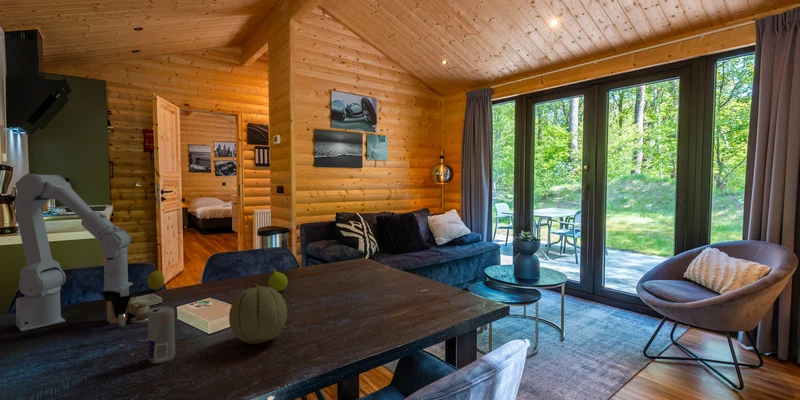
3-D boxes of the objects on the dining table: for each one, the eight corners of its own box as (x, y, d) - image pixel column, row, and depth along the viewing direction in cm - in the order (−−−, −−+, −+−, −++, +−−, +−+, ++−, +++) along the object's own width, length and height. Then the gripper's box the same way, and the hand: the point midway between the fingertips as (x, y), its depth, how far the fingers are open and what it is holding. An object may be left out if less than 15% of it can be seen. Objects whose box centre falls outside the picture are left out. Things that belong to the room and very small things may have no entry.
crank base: (120, 328, 109) (120, 315, 109) (113, 323, 113) (113, 311, 112) (157, 319, 117) (157, 307, 116) (149, 314, 120) (149, 303, 120)
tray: (135, 309, 125) (135, 303, 125) (126, 304, 130) (126, 299, 130) (162, 303, 131) (162, 297, 131) (153, 299, 136) (152, 293, 136)
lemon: (167, 289, 149) (167, 268, 149) (157, 293, 144) (157, 272, 143) (154, 288, 150) (154, 268, 149) (144, 292, 144) (143, 271, 144)
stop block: (111, 324, 112) (111, 304, 112) (107, 321, 115) (106, 301, 114) (127, 320, 115) (126, 300, 115) (122, 317, 118) (122, 298, 118)
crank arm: (151, 316, 116) (151, 303, 116) (137, 319, 113) (137, 306, 113) (136, 308, 124) (136, 296, 123) (123, 311, 121) (123, 299, 121)
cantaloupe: (252, 359, 91) (252, 297, 90) (216, 344, 98) (215, 287, 98) (299, 337, 103) (299, 283, 103) (264, 326, 111) (263, 276, 110)
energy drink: (156, 354, 93) (155, 305, 92) (179, 353, 93) (178, 305, 93) (143, 364, 88) (142, 313, 87) (167, 363, 88) (166, 312, 87)
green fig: (268, 289, 150) (268, 264, 149) (287, 288, 152) (287, 263, 151) (268, 294, 143) (268, 268, 142) (287, 293, 145) (287, 267, 145)
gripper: (140, 272, 113) (141, 316, 114) (123, 265, 122) (124, 307, 122) (111, 276, 108) (113, 323, 108) (96, 269, 116) (97, 312, 117)
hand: (117, 315), depth 115 cm, fingers open, 4 cm apart
